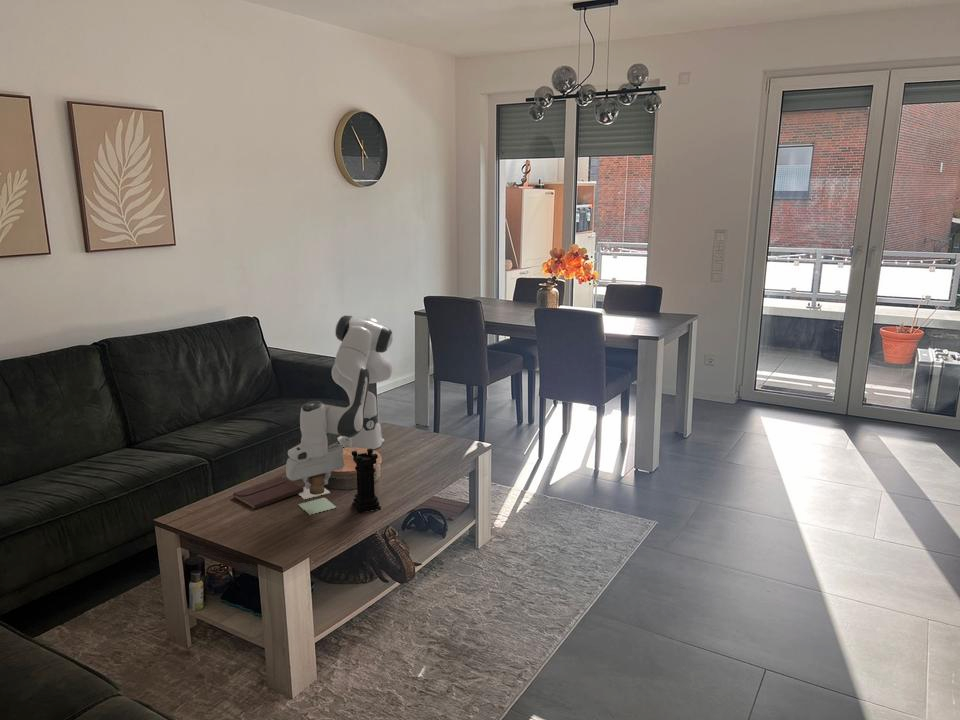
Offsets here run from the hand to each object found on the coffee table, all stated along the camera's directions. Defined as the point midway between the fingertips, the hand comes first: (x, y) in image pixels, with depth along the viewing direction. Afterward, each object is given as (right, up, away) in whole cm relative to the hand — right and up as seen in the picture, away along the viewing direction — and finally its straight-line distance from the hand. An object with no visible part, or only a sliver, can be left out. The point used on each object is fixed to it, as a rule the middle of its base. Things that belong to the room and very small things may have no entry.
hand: (316, 486), depth 246 cm
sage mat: (0, -8, +2) cm, 8 cm away
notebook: (-20, -5, +11) cm, 24 cm away
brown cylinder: (0, -2, 0) cm, 2 cm away
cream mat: (-5, -5, +14) cm, 16 cm away
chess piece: (+17, -8, +2) cm, 19 cm away
